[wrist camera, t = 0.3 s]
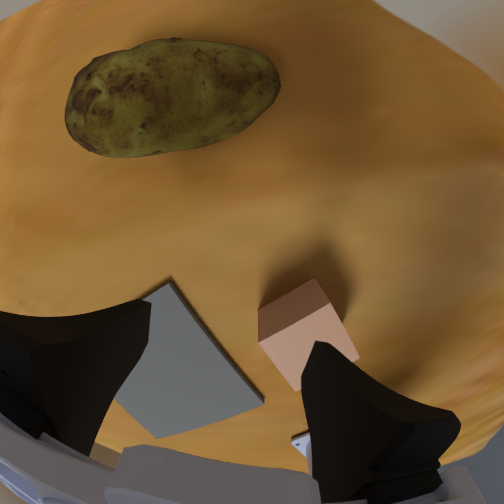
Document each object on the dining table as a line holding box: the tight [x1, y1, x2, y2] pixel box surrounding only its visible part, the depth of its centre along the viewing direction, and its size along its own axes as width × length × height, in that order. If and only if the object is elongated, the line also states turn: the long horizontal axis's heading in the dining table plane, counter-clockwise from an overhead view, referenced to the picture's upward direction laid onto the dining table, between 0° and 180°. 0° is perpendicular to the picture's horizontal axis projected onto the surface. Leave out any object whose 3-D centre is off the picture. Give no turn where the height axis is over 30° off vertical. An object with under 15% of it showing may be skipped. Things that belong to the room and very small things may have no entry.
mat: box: [114, 281, 264, 439], centre depth 23 cm, size 14×14×1 cm
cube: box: [258, 277, 360, 392], centre depth 19 cm, size 5×5×5 cm
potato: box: [65, 37, 281, 158], centre depth 14 cm, size 8×13×8 cm, turn 81°
